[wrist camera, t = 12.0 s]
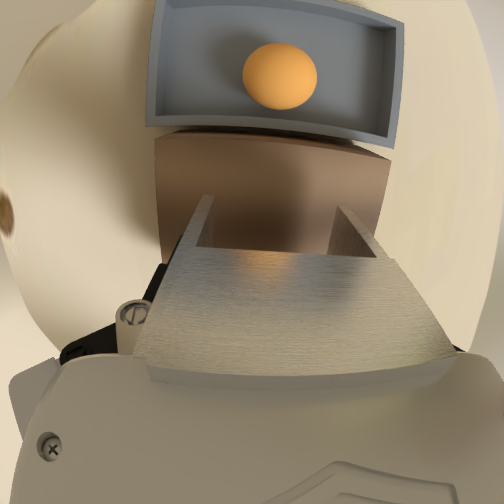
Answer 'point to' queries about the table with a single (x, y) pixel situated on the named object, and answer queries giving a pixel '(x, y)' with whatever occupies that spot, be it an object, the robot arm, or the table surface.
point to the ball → (279, 76)
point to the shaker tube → (288, 315)
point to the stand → (264, 188)
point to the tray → (266, 32)
